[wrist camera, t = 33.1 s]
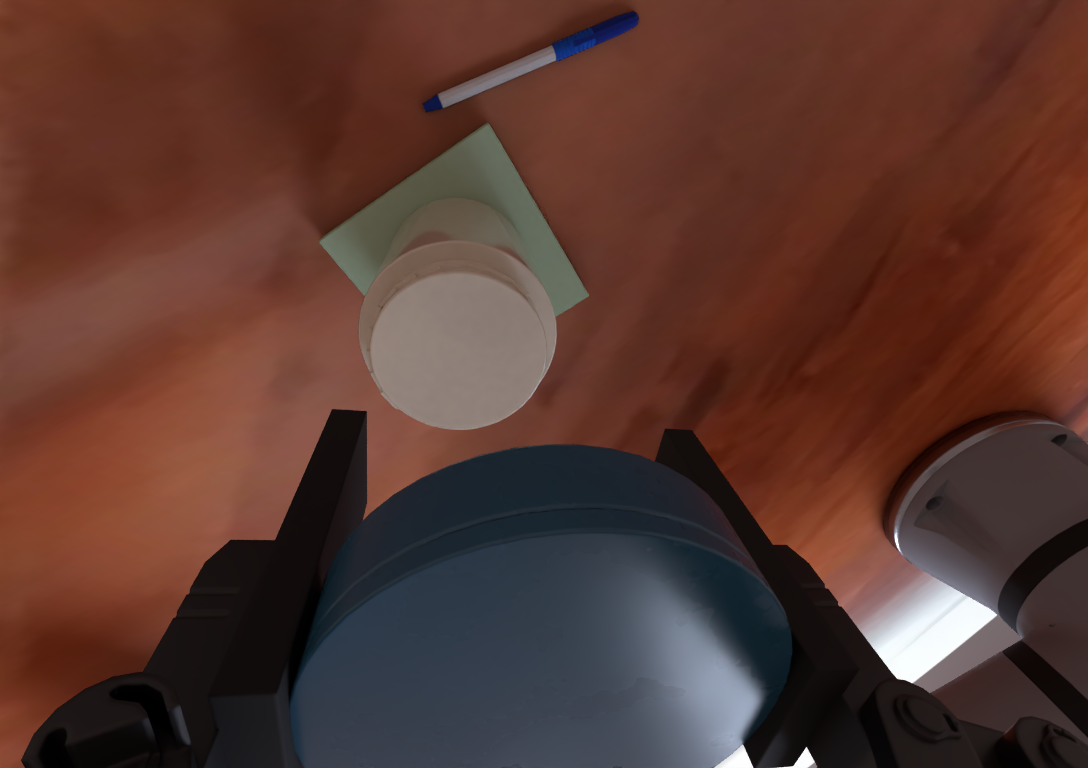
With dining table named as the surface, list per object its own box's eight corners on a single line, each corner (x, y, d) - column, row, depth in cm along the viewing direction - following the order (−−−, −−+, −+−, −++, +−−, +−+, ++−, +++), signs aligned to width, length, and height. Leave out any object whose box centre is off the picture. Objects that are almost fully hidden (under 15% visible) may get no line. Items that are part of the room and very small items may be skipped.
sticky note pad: (487, 121, 24) (488, 122, 23) (586, 290, 29) (589, 296, 28) (322, 236, 26) (317, 241, 25) (441, 379, 31) (441, 387, 30)
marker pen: (631, 4, 23) (638, 0, 22) (637, 26, 24) (644, 23, 23) (421, 101, 24) (420, 101, 23) (431, 121, 24) (429, 122, 23)
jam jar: (478, 167, 24) (489, 205, 15) (553, 288, 28) (599, 379, 19) (357, 249, 25) (300, 332, 16) (444, 357, 29) (438, 475, 20)
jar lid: (321, 740, 10) (295, 856, 9) (304, 424, 7) (256, 519, 5) (673, 723, 12) (705, 819, 10) (802, 456, 8) (880, 537, 7)
